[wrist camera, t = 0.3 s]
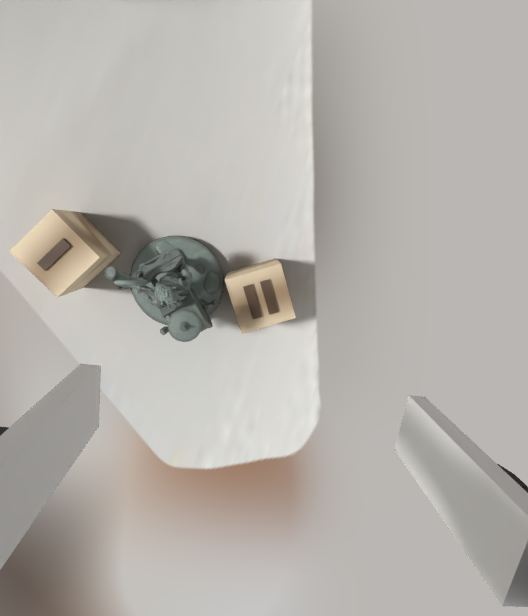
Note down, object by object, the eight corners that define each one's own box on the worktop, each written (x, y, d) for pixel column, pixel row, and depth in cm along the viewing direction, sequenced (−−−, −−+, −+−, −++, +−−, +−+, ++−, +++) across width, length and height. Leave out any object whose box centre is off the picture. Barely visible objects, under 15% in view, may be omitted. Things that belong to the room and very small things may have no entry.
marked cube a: (43, 248, 39) (7, 251, 33) (80, 212, 38) (50, 209, 32) (84, 287, 40) (56, 297, 34) (120, 253, 39) (99, 257, 33)
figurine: (194, 218, 39) (174, 215, 27) (240, 299, 42) (240, 327, 30) (115, 263, 40) (62, 278, 28) (165, 340, 42) (136, 383, 30)
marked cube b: (227, 272, 41) (224, 280, 35) (275, 258, 41) (281, 263, 35) (241, 319, 42) (241, 334, 36) (288, 305, 42) (296, 318, 36)
